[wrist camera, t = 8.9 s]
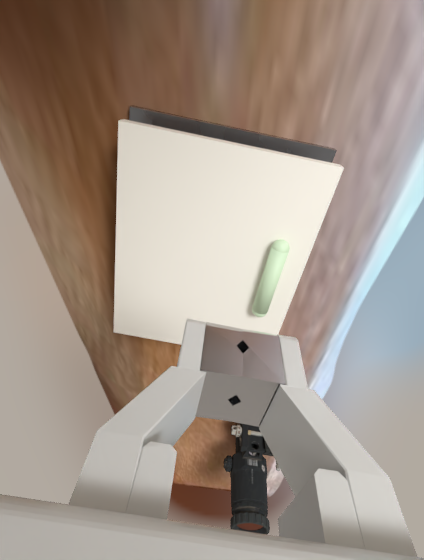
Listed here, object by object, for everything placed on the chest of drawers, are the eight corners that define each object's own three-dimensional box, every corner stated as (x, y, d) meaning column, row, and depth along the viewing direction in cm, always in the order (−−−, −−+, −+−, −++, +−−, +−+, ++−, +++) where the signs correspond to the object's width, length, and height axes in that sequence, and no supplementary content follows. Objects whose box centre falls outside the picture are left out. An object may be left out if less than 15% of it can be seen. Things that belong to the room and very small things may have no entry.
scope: (292, 516, 41) (272, 545, 47) (280, 418, 53) (265, 450, 58) (229, 507, 41) (217, 537, 46) (231, 411, 52) (221, 444, 58)
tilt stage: (123, 119, 25) (111, 122, 23) (339, 164, 26) (350, 172, 24) (116, 325, 37) (108, 342, 35) (266, 352, 38) (269, 370, 36)
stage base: (132, 105, 29) (117, 110, 25) (334, 148, 30) (347, 158, 26) (124, 303, 41) (114, 324, 38) (266, 329, 42) (269, 352, 39)
